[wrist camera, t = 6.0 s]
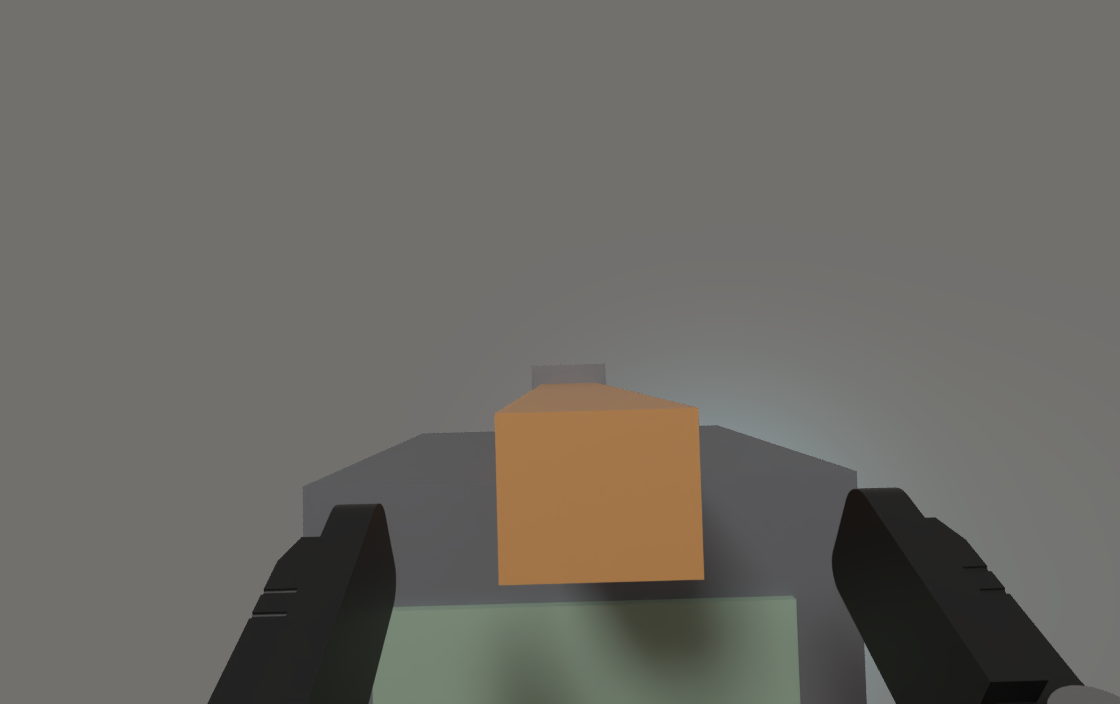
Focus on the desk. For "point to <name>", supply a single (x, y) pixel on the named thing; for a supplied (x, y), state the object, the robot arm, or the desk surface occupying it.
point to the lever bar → (596, 483)
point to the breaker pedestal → (610, 589)
